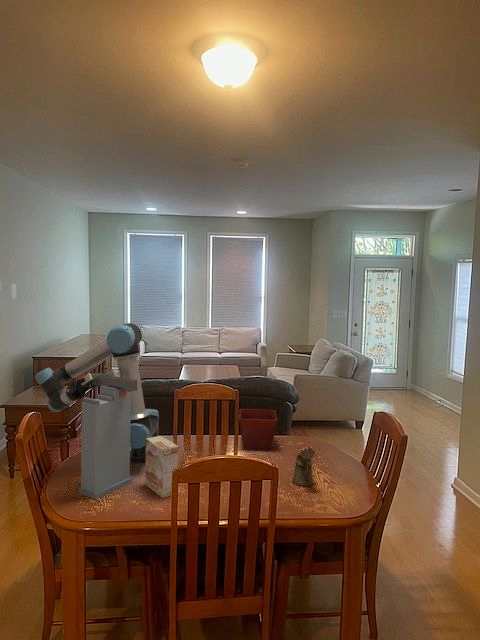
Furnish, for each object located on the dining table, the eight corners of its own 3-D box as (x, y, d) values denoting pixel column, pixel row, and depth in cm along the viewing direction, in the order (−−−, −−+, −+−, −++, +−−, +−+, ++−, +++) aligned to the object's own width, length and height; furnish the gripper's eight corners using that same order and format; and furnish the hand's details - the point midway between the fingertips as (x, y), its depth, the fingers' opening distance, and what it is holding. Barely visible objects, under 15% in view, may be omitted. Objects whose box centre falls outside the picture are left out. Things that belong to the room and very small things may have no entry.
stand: (78, 492, 181) (78, 390, 178) (115, 476, 197) (116, 382, 194) (95, 499, 176) (96, 393, 173) (132, 482, 192) (133, 385, 189)
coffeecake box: (144, 484, 190) (145, 438, 189) (160, 480, 195) (161, 435, 193) (161, 498, 179) (162, 448, 177) (178, 493, 183) (179, 445, 182)
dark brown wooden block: (87, 383, 193) (87, 373, 193) (95, 382, 197) (95, 372, 197) (129, 391, 181) (129, 381, 180) (137, 390, 184) (137, 379, 184)
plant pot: (276, 453, 232) (277, 420, 231) (238, 451, 232) (239, 418, 231) (274, 440, 251) (275, 409, 250) (238, 439, 251) (239, 408, 250)
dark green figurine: (295, 491, 188) (297, 448, 187) (290, 477, 202) (292, 437, 201) (317, 491, 189) (319, 448, 188) (310, 478, 202) (312, 437, 201)
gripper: (98, 395, 211) (127, 377, 200) (51, 406, 190) (81, 387, 179) (92, 380, 212) (121, 361, 201) (45, 389, 192) (75, 369, 181)
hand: (102, 373), depth 190 cm, fingers open, 12 cm apart
